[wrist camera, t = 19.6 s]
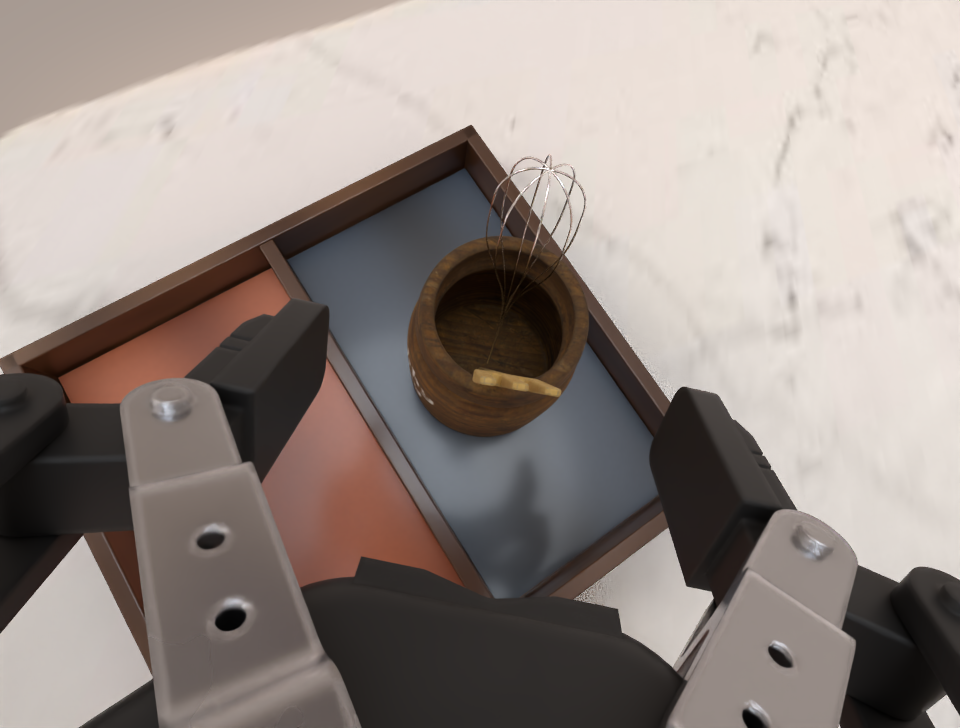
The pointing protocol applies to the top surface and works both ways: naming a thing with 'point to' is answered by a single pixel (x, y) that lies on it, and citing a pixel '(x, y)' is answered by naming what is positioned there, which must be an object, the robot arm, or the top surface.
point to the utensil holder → (498, 328)
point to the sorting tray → (391, 397)
